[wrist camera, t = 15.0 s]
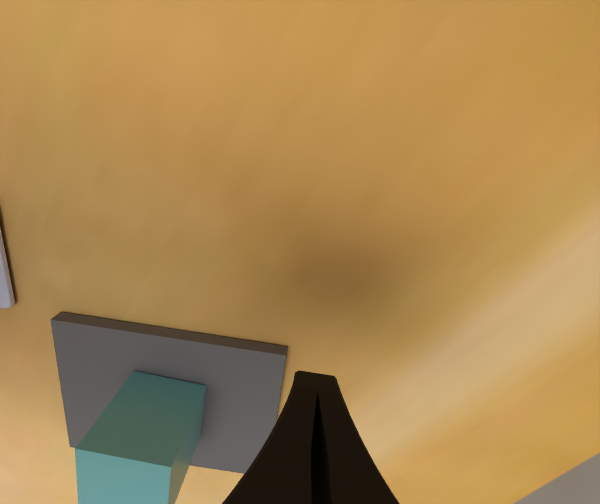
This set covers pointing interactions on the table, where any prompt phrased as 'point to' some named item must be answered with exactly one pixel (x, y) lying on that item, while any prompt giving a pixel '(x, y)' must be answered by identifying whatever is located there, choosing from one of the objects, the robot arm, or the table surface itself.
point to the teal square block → (141, 442)
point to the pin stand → (176, 365)
